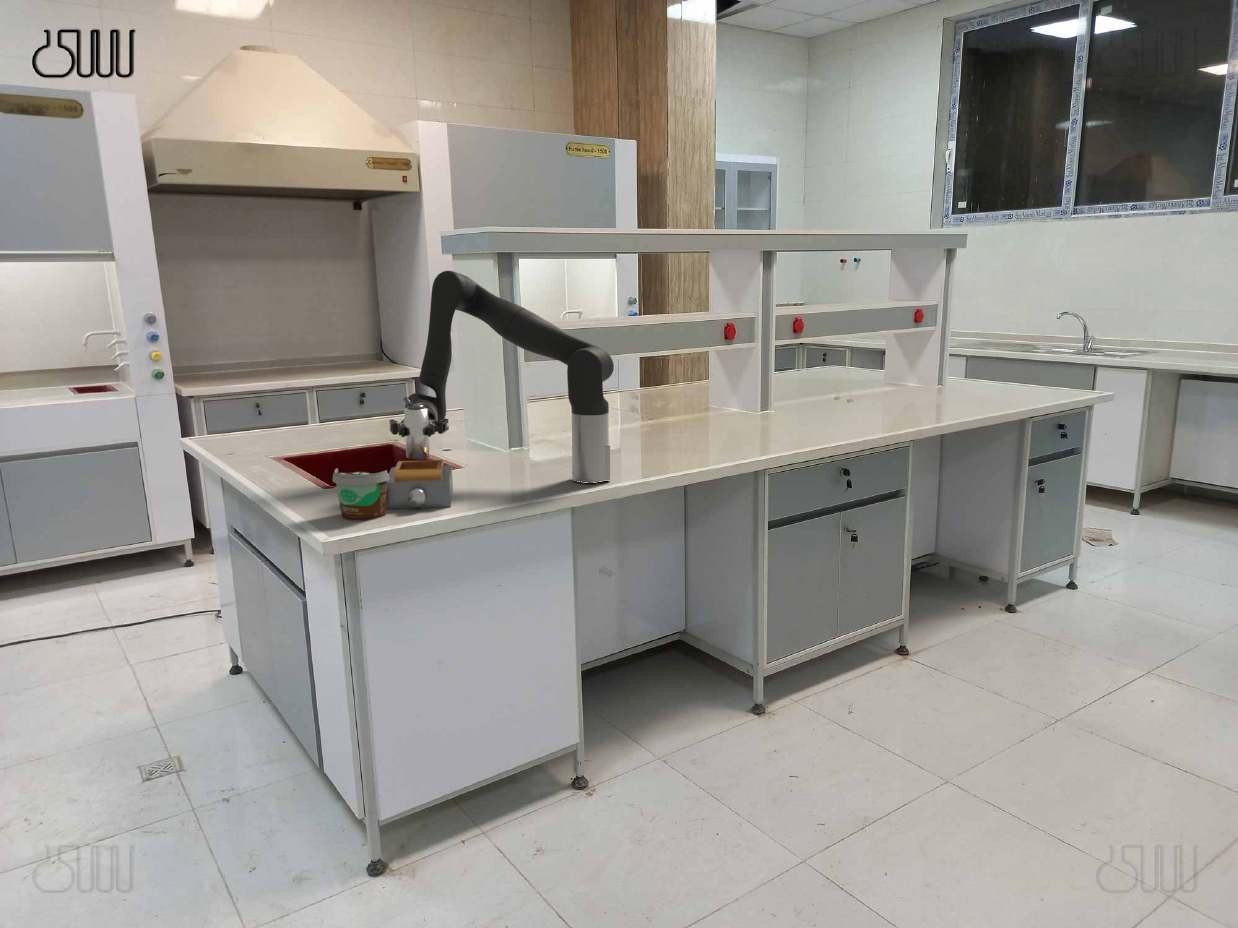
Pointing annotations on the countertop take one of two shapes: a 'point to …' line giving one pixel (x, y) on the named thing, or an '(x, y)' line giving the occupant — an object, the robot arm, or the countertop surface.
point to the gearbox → (419, 485)
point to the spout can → (416, 430)
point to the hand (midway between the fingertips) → (416, 432)
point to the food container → (361, 494)
